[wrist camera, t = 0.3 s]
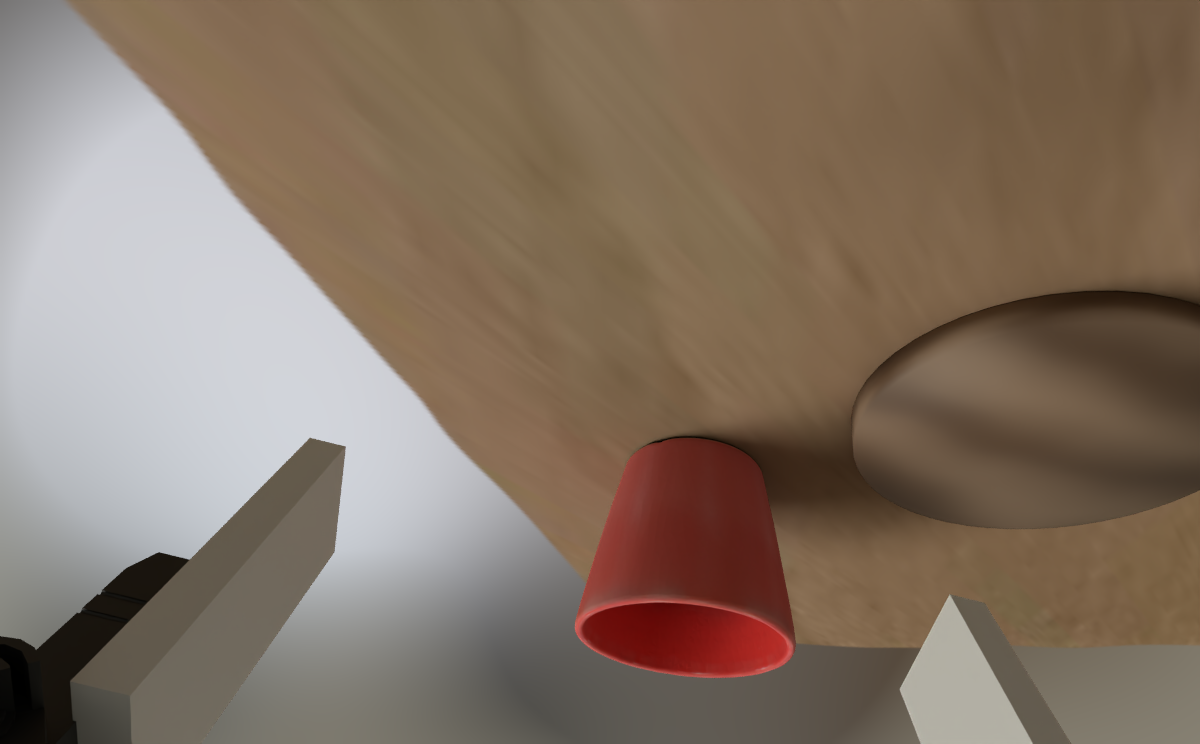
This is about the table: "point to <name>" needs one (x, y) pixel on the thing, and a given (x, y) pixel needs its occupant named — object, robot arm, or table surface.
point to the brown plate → (1038, 413)
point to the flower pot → (689, 567)
